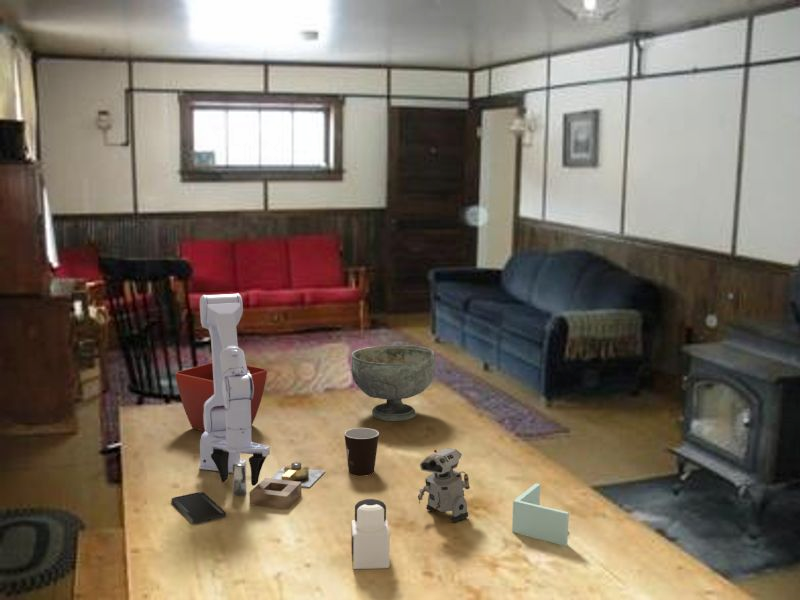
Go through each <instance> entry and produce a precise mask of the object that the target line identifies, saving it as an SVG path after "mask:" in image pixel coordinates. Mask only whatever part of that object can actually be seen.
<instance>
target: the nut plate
mask: <svg viewBox="0 0 800 600" xmlns="http://www.w3.org/2000/svg"><path fill="white" fill-rule="evenodd" d="M285 467H286V466H285V465H284V466H283V467H282V468H280V470H279V471H277V472H276V473H275V474H274V475H272V476H271V477H270V478H271V479H280V480H282V475H283V474H284V468H285ZM323 473H324V474H325V473H326V470H320V469H311V468H309V476H308V477H306V478H304V479H299V480H295V481H297V482H301V488H303V489H304V488H305V489H310V488H311V487H312V486H313V485H314V484H315V483H317V481H318V480H319V479H320V478H321V477H322V476H323V475H324V474H323ZM319 477H320V478H319Z"/></svg>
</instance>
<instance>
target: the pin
mask: <svg viewBox="0 0 800 600" xmlns="http://www.w3.org/2000/svg"><path fill="white" fill-rule="evenodd" d="M232 489H233V490H232V492H233V493H232V494H233V495H234V496H236V497H237V496H239V497H240V496H245V495H247V464H246V463H242V462H238V463H234V464H233V472H232Z"/></svg>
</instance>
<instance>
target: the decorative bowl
mask: <svg viewBox="0 0 800 600" xmlns="http://www.w3.org/2000/svg"><path fill="white" fill-rule="evenodd" d="M435 369H436V356H435V351H434V350H433V349H432V348H429V347H425V346H419V345H412V344H411V345H401V344H392V345H390V344H389V345H375V346H368V347H363V348H360V349H357V350H356V349H355V350H354V351H352V352H351V369H350V371H351V376H352V379H353V381H354V383H355V385H356V386H357V387H358V388H359V390H360V391H361V392H363V393H364V394H365V395H366V396H368V397H369V398H372V399H381V400H385V401H386V402H385V403H384V402H383V403H380V404H377V405H376V406H374V407H372V411H371V415H372V416H373V417H374V418H376V419H378V420H382V421H386V422H387V421H388V422H402V421H407V420H411V419H413V418H415V417H416V410H415V408H414V407H413V406H411V405H409V404H407V403H403V402H402V399H403V400H404V399H410V398H413V397H416V396H417V395H420V394H421V393H423V392H424V391H425V390H426V389H427V388H429V386H430V385H431V383H432V382H433V379H434V375H435Z"/></svg>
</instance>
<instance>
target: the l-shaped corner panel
mask: <svg viewBox="0 0 800 600" xmlns="http://www.w3.org/2000/svg"><path fill="white" fill-rule="evenodd" d="M540 496H541V484H540V483H537V482H536V483H534V484H533V485H532V486H530V487H529V488H528V489H527V490H525V491H524V492H523V493H522V494H520V495H519V496H517V497H516V498H515V499H514V500H513V502H512V525H511V526H512V527H511V528H512V529H511V531H512V533H515V534H518V535H523V536H527V537H530V538H534V539H537V540H542V541H546V542H549V543H553V544H557V545H561V546H565V547H567V545H568V542H569V541H568V538H569V537H568V536H569V516H570V513H569V512H568V511H565V510H560V509H556V508H552V507H547V506H544V505H540V504H541V503H540V502H541V501H540V498H541V497H540Z"/></svg>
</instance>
